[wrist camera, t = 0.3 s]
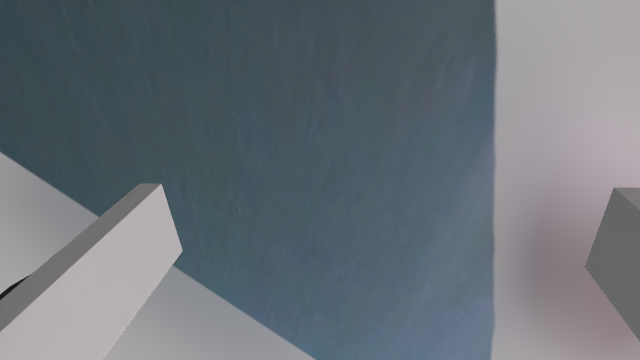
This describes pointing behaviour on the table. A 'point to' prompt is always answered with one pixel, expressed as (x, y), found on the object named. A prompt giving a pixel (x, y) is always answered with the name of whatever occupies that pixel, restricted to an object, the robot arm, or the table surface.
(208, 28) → the table surface
